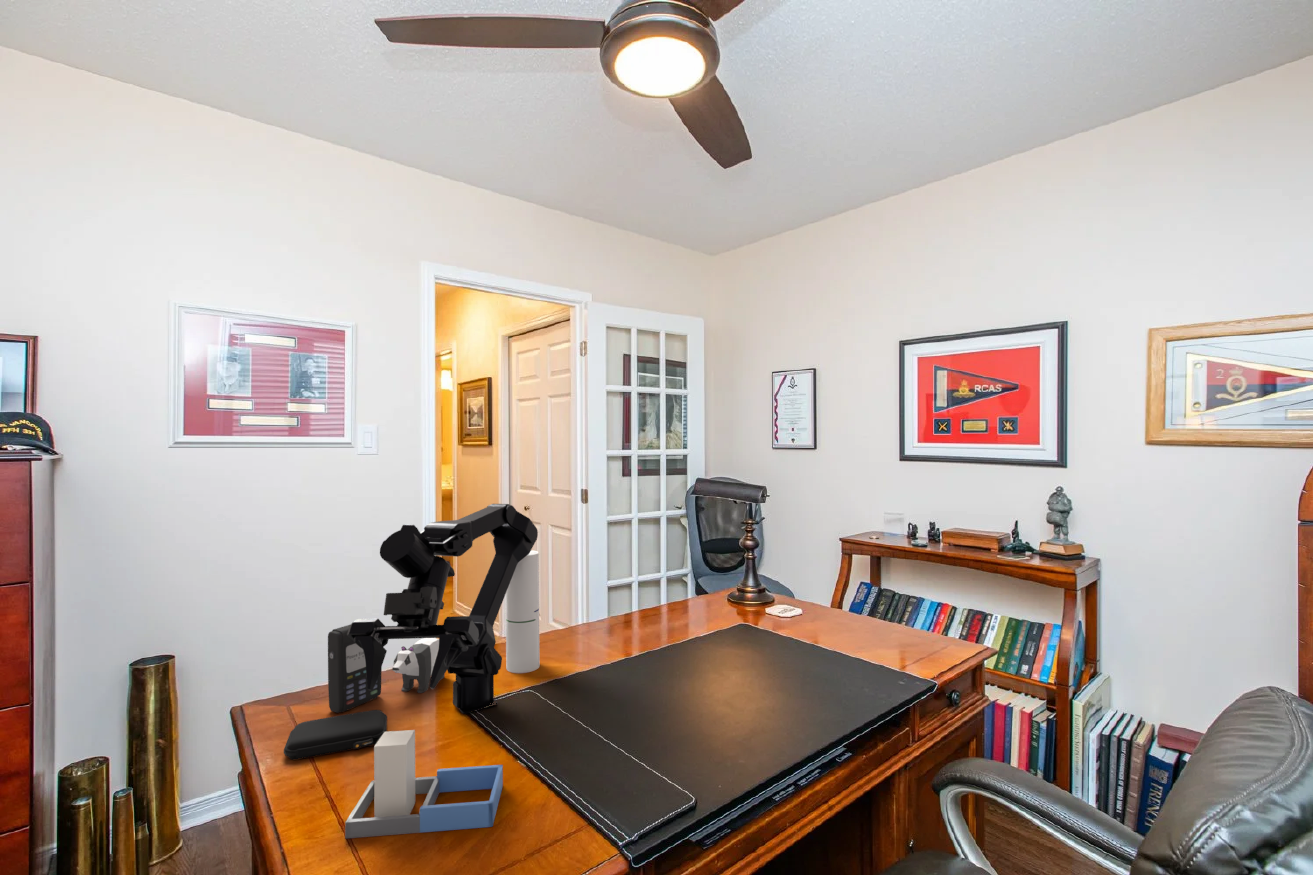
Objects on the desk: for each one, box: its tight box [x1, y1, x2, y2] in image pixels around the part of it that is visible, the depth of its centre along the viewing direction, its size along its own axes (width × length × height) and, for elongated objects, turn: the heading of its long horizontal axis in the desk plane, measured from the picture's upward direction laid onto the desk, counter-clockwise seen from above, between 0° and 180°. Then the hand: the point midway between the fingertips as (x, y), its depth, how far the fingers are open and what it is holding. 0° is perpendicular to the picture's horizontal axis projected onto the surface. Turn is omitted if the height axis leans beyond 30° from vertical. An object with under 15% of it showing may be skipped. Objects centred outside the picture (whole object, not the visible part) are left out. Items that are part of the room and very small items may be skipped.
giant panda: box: [391, 638, 446, 694], centre depth 120 cm, size 15×6×10 cm, turn 168°
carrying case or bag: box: [283, 709, 388, 761], centre depth 98 cm, size 11×3×15 cm
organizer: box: [344, 764, 504, 839], centre depth 80 cm, size 18×9×3 cm, turn 97°
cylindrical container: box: [505, 549, 541, 674], centre depth 131 cm, size 7×7×25 cm
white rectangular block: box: [373, 729, 416, 817], centre depth 79 cm, size 4×4×10 cm
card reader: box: [327, 623, 383, 714], centre depth 113 cm, size 9×4×15 cm, turn 151°
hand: (400, 688), depth 88 cm, fingers open, 9 cm apart
